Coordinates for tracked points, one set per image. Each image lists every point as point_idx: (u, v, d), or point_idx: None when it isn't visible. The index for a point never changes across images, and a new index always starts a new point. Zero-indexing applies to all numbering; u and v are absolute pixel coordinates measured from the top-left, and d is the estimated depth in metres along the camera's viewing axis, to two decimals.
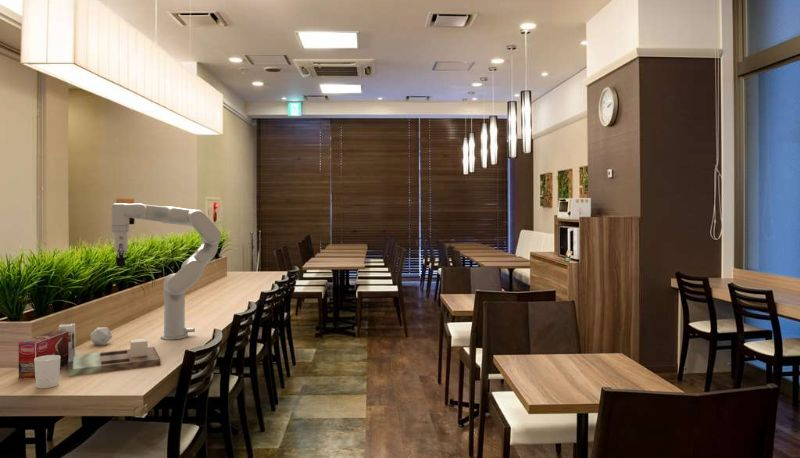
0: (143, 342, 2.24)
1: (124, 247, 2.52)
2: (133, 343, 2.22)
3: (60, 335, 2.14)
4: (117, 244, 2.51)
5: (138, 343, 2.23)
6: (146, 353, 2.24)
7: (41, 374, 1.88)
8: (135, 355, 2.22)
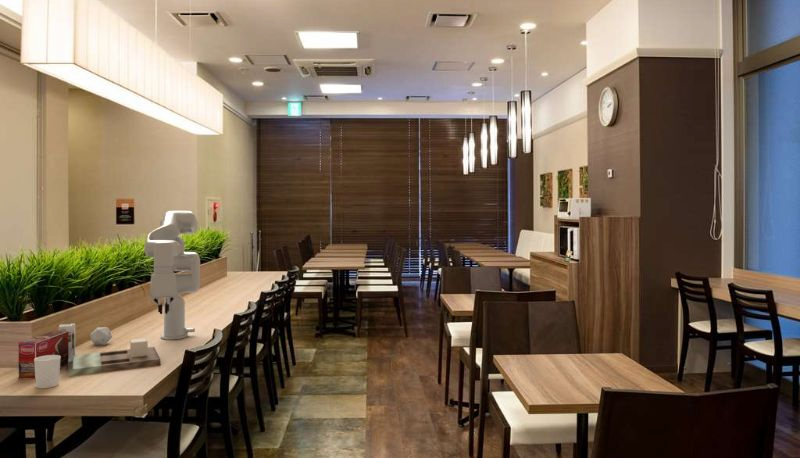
0: (143, 342, 2.24)
1: None
2: (133, 343, 2.22)
3: (60, 335, 2.14)
4: (176, 286, 2.31)
5: (138, 343, 2.23)
6: (146, 353, 2.24)
7: (41, 374, 1.88)
8: (135, 355, 2.22)
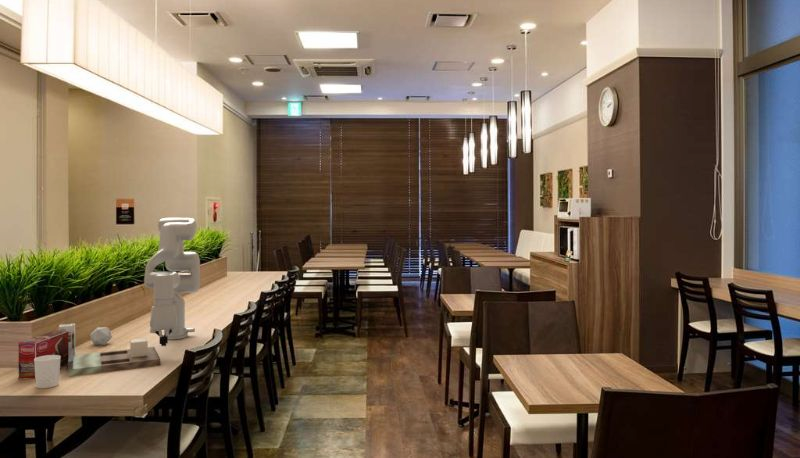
0: (143, 342, 2.24)
1: None
2: (133, 343, 2.22)
3: (60, 335, 2.14)
4: (176, 318, 2.31)
5: (138, 343, 2.23)
6: (146, 353, 2.24)
7: (41, 374, 1.88)
8: (135, 355, 2.22)
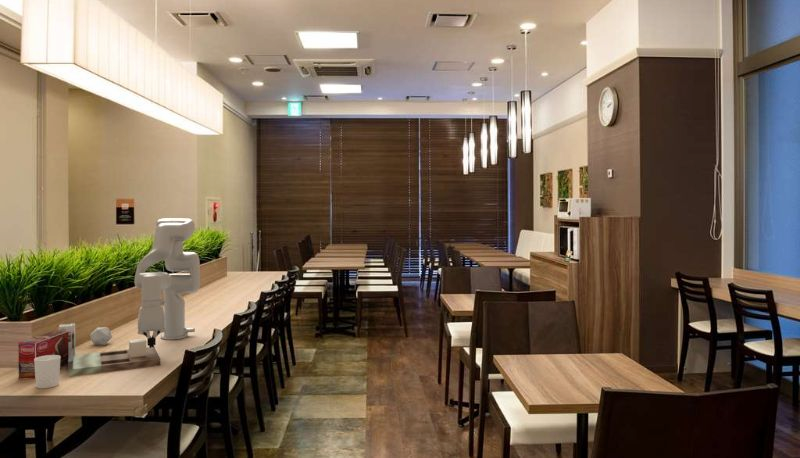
0: (142, 342, 2.23)
1: None
2: (132, 343, 2.21)
3: (60, 335, 2.14)
4: (164, 319, 2.29)
5: (137, 343, 2.22)
6: (145, 353, 2.24)
7: (41, 374, 1.88)
8: (134, 355, 2.22)
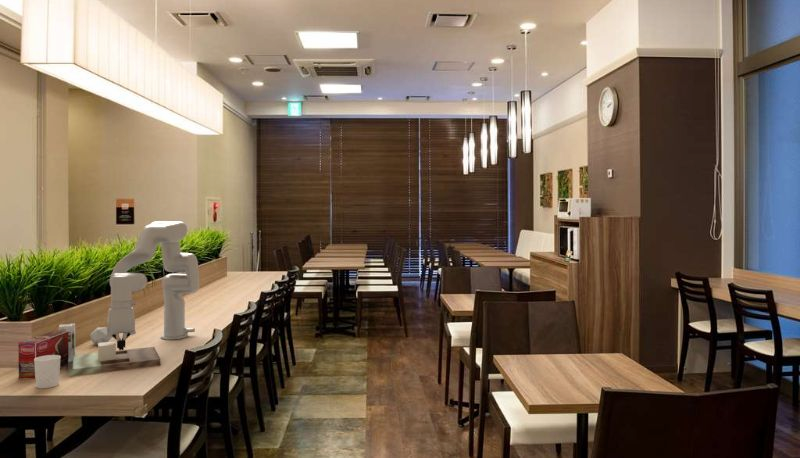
0: (111, 345, 2.17)
1: None
2: (100, 347, 2.15)
3: (60, 335, 2.14)
4: (134, 321, 2.23)
5: (106, 347, 2.16)
6: (114, 357, 2.18)
7: (41, 374, 1.88)
8: (103, 359, 2.16)
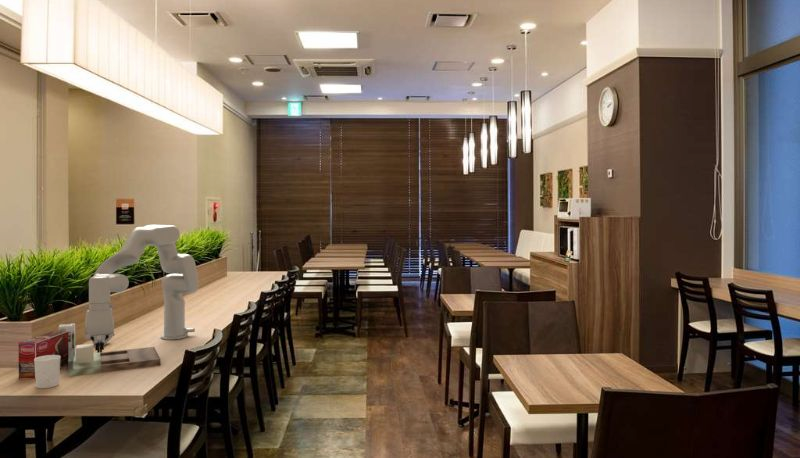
0: (89, 348, 2.13)
1: None
2: (78, 349, 2.11)
3: (60, 335, 2.14)
4: (113, 323, 2.19)
5: (83, 349, 2.12)
6: (92, 359, 2.14)
7: (41, 374, 1.88)
8: (80, 361, 2.12)
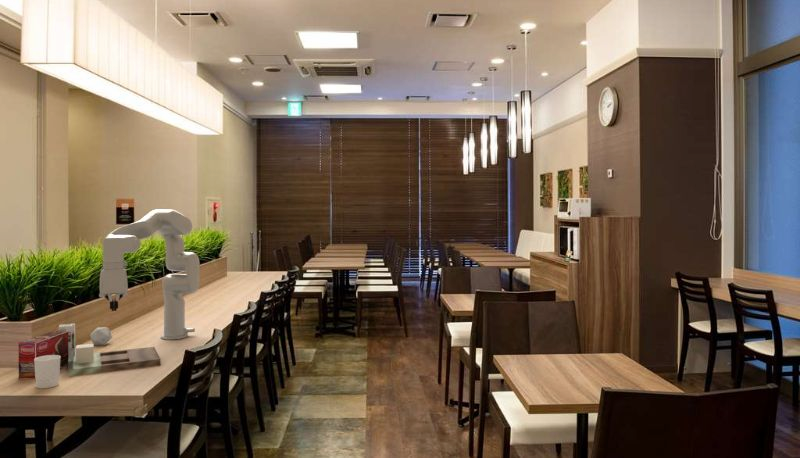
0: (89, 348, 2.13)
1: None
2: (78, 349, 2.11)
3: (60, 335, 2.14)
4: None
5: (83, 349, 2.12)
6: (92, 359, 2.14)
7: (41, 374, 1.88)
8: (80, 361, 2.12)
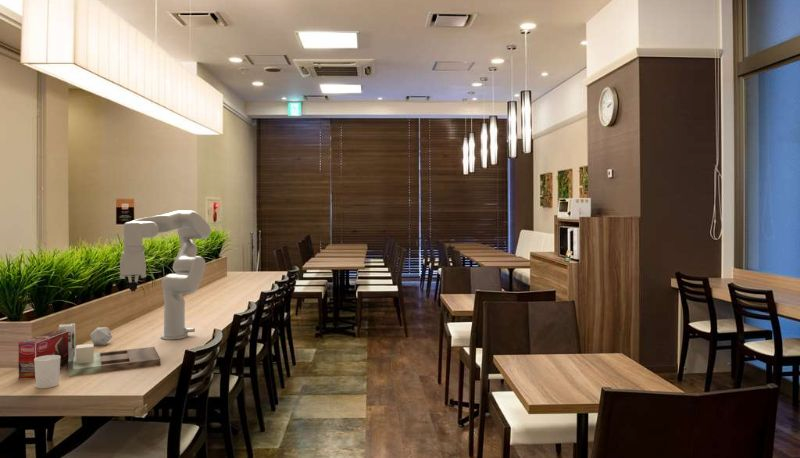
0: (89, 348, 2.13)
1: None
2: (78, 349, 2.11)
3: (60, 335, 2.14)
4: (145, 265, 2.40)
5: (83, 349, 2.12)
6: (92, 359, 2.14)
7: (41, 374, 1.88)
8: (80, 361, 2.12)
